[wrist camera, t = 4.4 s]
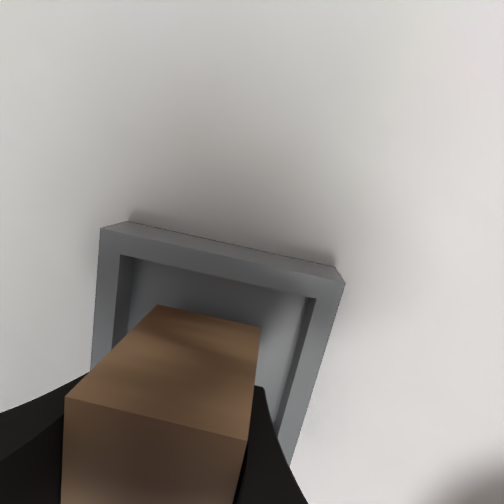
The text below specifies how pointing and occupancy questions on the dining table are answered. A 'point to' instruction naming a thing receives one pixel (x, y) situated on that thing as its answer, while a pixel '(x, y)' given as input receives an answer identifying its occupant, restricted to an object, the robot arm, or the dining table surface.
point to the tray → (223, 305)
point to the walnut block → (162, 414)
